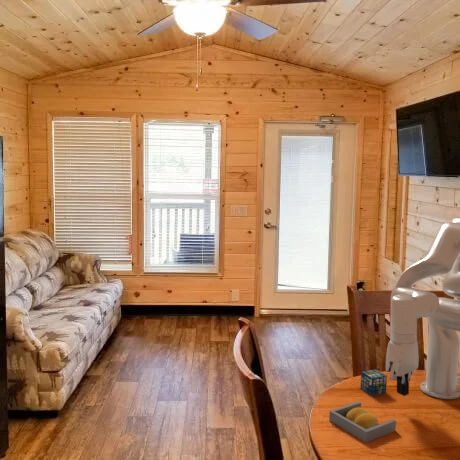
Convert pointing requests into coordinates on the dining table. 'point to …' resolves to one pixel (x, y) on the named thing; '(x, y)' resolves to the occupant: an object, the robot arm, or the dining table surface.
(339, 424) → the box
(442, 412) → the dining table surface
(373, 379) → the puzzle
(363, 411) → the bread roll
